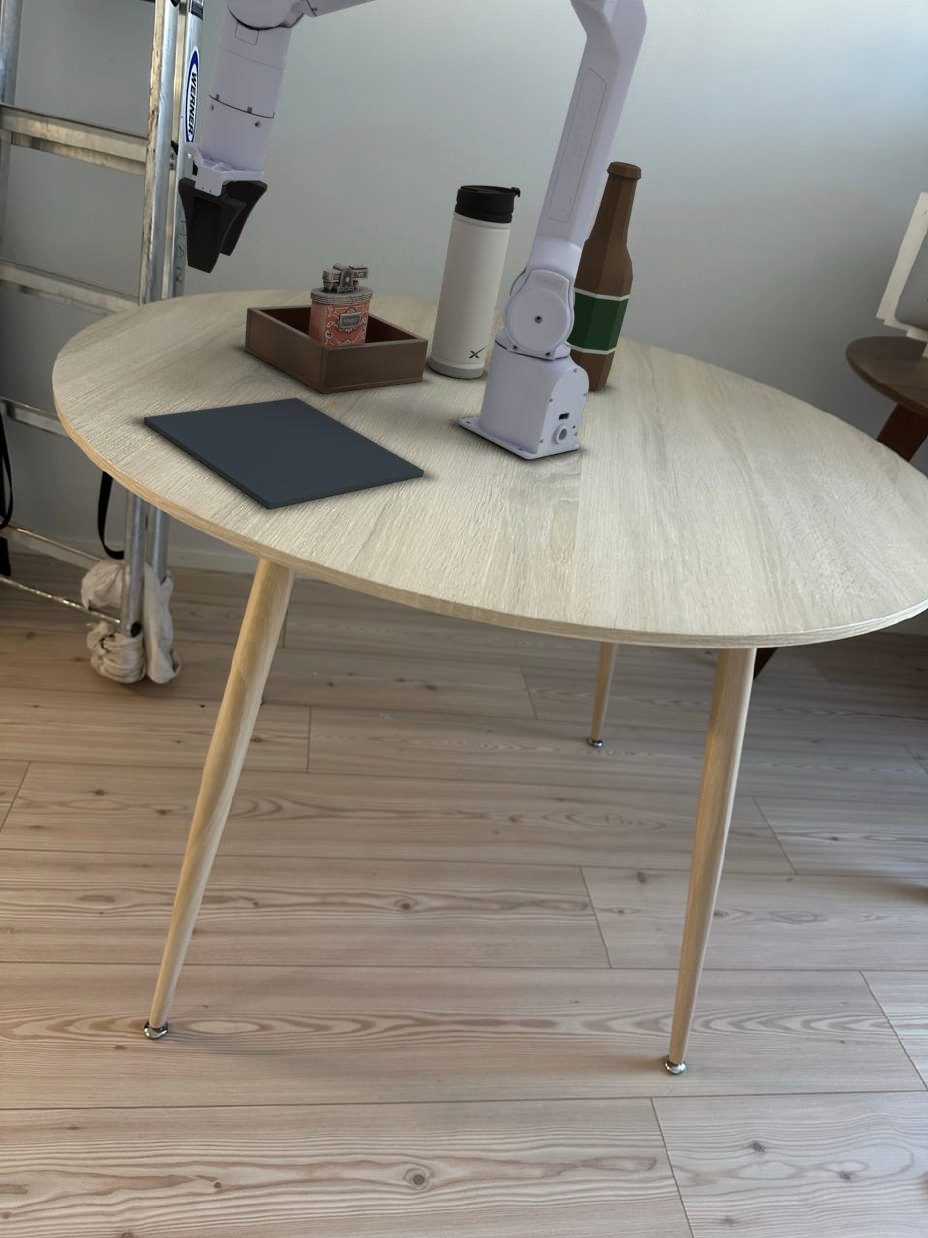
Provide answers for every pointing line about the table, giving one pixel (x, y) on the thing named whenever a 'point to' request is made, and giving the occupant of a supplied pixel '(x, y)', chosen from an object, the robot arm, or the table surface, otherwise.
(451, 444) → the table surface
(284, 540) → the table surface
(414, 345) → the brown wooden tray
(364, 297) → the lighter
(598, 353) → the beer bottle
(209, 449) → the mat
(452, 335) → the travel mug
